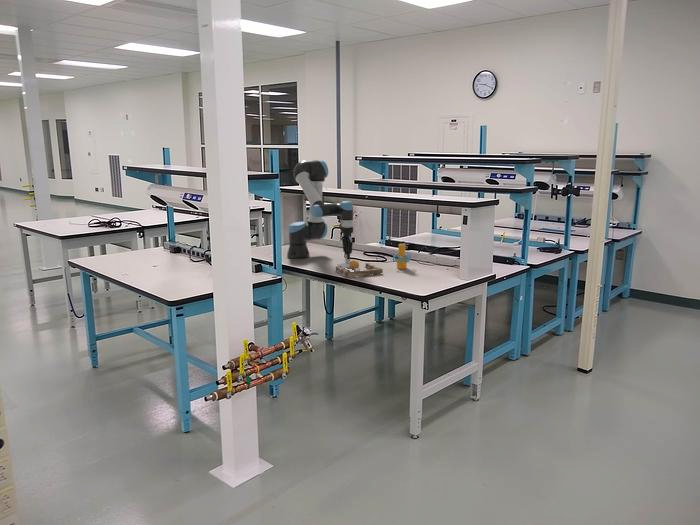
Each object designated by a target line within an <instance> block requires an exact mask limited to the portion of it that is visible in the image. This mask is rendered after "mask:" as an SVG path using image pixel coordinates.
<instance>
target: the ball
mask: <svg viewBox="0 0 700 525" xmlns="http://www.w3.org/2000/svg"><path fill="white" fill-rule="evenodd" d="M349 267H350V269H352V270H354V268H357V269H358V268H359V269H360V263H359V261H358V260H350V264H349Z"/></svg>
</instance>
